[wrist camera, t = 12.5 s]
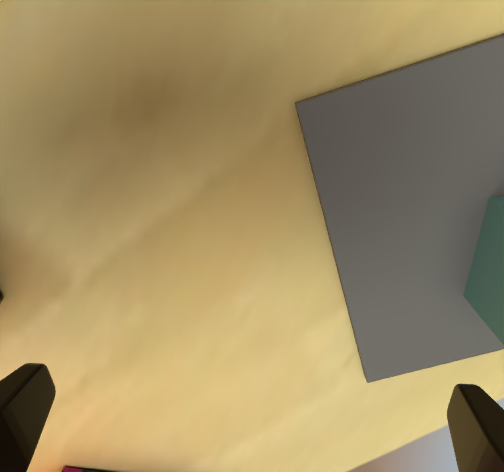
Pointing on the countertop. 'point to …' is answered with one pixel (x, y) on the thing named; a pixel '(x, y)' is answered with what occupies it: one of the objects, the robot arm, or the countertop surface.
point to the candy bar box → (76, 470)
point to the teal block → (489, 270)
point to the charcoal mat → (411, 201)
